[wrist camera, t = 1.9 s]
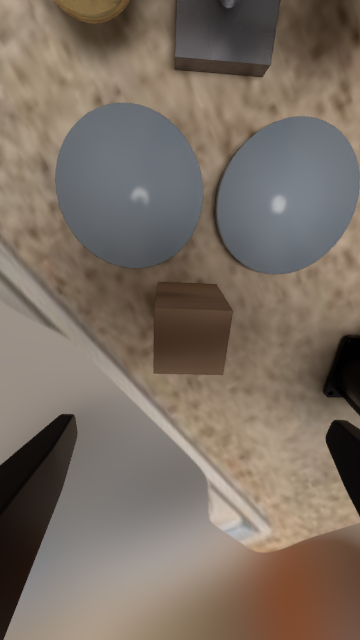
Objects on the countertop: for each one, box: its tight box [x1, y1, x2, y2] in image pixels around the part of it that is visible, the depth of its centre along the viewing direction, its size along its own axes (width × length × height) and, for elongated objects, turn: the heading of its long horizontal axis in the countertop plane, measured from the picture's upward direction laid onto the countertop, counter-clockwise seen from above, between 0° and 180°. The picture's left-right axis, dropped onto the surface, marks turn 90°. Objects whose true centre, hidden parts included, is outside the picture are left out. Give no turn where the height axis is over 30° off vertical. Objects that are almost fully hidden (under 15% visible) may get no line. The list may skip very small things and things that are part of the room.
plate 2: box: [215, 117, 360, 274], centre depth 16 cm, size 9×9×1 cm
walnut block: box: [154, 282, 233, 375], centre depth 17 cm, size 4×4×6 cm
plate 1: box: [55, 103, 203, 268], centre depth 15 cm, size 9×9×1 cm
